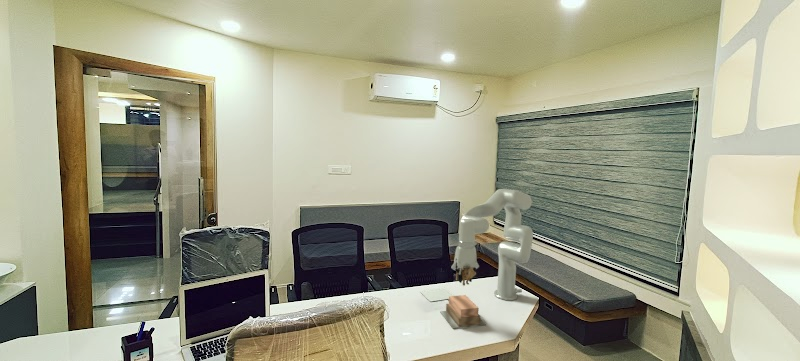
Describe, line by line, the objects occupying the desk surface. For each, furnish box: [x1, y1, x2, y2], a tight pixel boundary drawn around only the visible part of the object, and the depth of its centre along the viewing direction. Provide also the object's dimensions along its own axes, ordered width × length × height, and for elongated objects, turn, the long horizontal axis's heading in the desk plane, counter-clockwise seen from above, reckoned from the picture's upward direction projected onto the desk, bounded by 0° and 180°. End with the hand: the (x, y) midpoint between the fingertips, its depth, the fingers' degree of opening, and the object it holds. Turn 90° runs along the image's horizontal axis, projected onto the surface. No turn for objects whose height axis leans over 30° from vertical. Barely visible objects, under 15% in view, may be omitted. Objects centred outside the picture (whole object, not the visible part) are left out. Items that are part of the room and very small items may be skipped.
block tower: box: [439, 294, 487, 330], centre depth 159 cm, size 17×16×9 cm
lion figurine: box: [452, 268, 477, 287], centre depth 158 cm, size 15×5×9 cm, turn 28°
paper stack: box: [419, 287, 455, 302], centre depth 180 cm, size 23×25×1 cm
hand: (464, 280), depth 158 cm, fingers closed on lion figurine, 4 cm apart
